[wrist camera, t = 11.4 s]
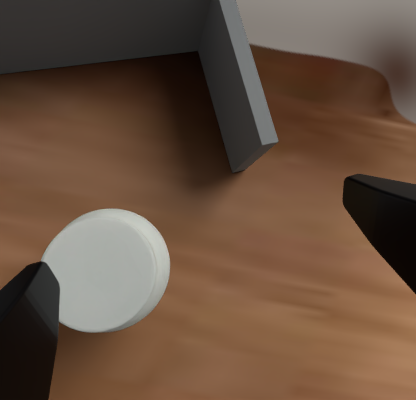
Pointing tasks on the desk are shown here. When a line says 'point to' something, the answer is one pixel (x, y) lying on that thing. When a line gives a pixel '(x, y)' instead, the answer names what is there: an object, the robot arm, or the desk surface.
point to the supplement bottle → (108, 270)
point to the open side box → (148, 52)
